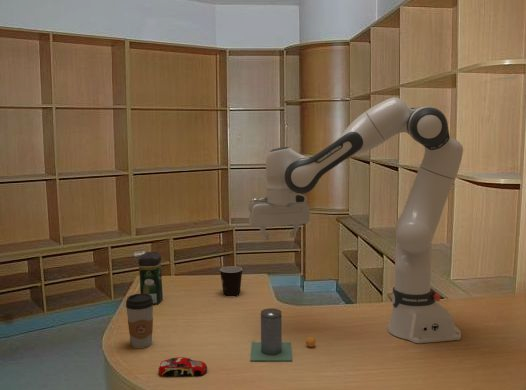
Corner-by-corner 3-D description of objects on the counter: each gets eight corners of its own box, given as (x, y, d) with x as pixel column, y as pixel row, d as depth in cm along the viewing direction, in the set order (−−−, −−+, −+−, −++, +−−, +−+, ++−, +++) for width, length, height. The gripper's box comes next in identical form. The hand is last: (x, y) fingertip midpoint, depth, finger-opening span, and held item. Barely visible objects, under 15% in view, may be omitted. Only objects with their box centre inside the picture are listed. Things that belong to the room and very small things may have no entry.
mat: (290, 343, 168) (290, 342, 168) (292, 361, 156) (292, 359, 156) (251, 343, 168) (251, 342, 168) (250, 361, 156) (250, 360, 156)
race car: (208, 368, 153) (208, 354, 152) (206, 377, 148) (206, 363, 147) (161, 368, 153) (160, 355, 152) (157, 378, 148) (157, 364, 147)
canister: (281, 346, 165) (281, 308, 163) (281, 355, 159) (281, 315, 157) (261, 346, 165) (261, 308, 163) (261, 355, 159) (260, 316, 157)
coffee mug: (239, 298, 208) (239, 273, 206) (217, 297, 210) (217, 272, 208) (246, 288, 219) (246, 264, 218) (225, 287, 221) (225, 263, 219)
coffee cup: (128, 351, 163) (125, 303, 161) (127, 340, 171) (124, 294, 169) (156, 348, 166) (154, 300, 163) (154, 337, 173) (152, 291, 171)
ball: (315, 344, 167) (315, 335, 167) (316, 348, 164) (316, 339, 164) (305, 344, 167) (305, 335, 167) (306, 348, 164) (306, 339, 164)
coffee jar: (143, 296, 211) (141, 250, 208) (164, 296, 211) (162, 249, 208) (138, 305, 201) (135, 257, 198) (159, 305, 201) (157, 256, 198)
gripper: (251, 200, 172) (252, 243, 174) (311, 196, 178) (311, 238, 180) (246, 197, 178) (246, 238, 180) (304, 193, 184) (304, 234, 186)
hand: (279, 238), depth 180 cm, fingers open, 8 cm apart
